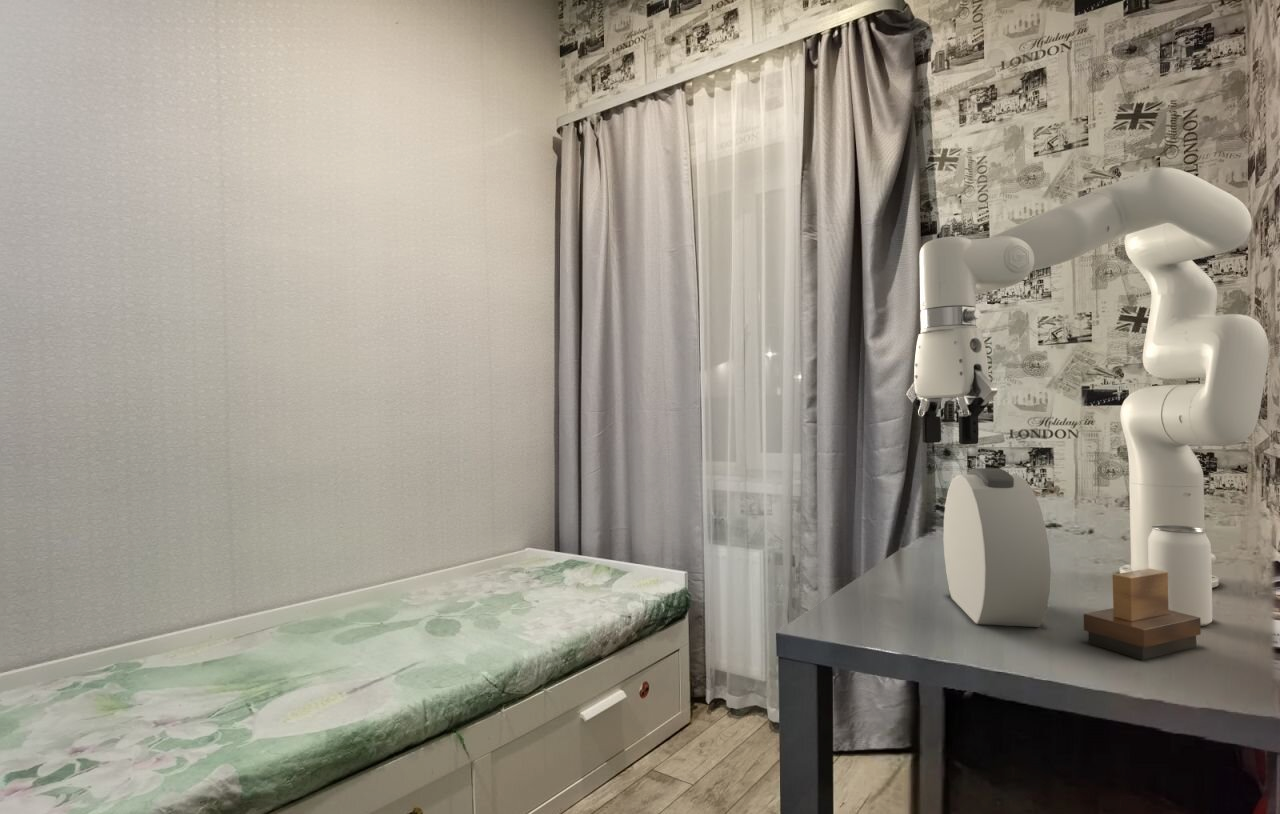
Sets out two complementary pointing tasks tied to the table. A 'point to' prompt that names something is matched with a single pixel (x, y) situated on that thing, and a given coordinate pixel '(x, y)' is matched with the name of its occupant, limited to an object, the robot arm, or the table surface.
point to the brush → (1141, 618)
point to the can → (1184, 568)
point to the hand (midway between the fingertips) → (949, 442)
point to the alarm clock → (996, 549)
